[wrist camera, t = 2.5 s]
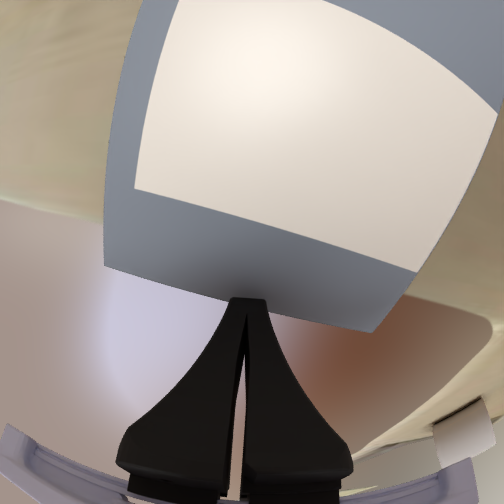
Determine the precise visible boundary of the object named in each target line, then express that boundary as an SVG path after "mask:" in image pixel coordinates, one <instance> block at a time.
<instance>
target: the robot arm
mask: <svg viewBox="0 0 504 504" xmlns="http://www.w3.org/2000/svg"><path fill="white" fill-rule="evenodd" d="M244 354H245V383H246V385H245V386H246V416H245V430H244V446H243V459H242V473H241V487H240V501H233V500H221V499H220V497H227V492H228V490H229V484H230V470H231V456H232V455H231V454H232V442H233V429H234V417H235V406H236V398H237V393H238V387H239V382H240V377H241V371H242V366H243V360H244ZM116 464H117V465H118V466H119V467H121V468H122V469H124V470H126V471H127V472H129V473H130V478H129V481H126V480H123V479H120V478H117V477H114V476H111V475H108V474H105V473H103V472H100V471H97V470H95V469H92V468H89V467H87V466H84V465H82V464H80V463H77V462H75V461H73V460H71V459H68V458H66V457H64V456H62V455H60V454H58V453H56V452H54V451H52V450H50V449H48V448H46V447H44V446H42V445H40V444H39V443H37V442H36V441H35V440H33V439H32V438H31V437H29V436H28V435H26V434H24V433H23V432H21V431H19V430H18V429H16V428H14V427H13V426H12V425H10V424H6V427H5V429H4V432H3V435H2V437H1V441H0V474H2V475H3V476H4V477H6V478H7V479H8V480H9V481H11V482H12V483H13V484H15V485H16V486H17V487H19V488H20V489H21V490H22V491H24V492H25V493H26V494H28V495H29V496H30V497H32V498H33V499H34V500H36V501H37V502H38V503H40V504H135V503H131V502H129V501H128V499H127V497H126V496H125V495H127V496H130V497H133V498H136V499H140V500H144V501H147V502H151V503H155V504H478V502H479V499H478V492H477V486H476V480H475V475H474V470H473V465H472V461H471V457H468V458H466V459H464V460H461V461H459V462H457V463H454V464H452V465H450V466H448V467H445V468H443V469H441V470H440V471H438V472H436V473H434V474H431V475H428V476H425V477H422V478H419V479H416V480H413V481H410V482H406V483H403V484H399V485H396V486H392V487H388V488H384V489H380V490H375V491H371V492H366V493H361V494H355V495H349V496H343V497H339V489H341V479H343V478H345V477H347V476H349V475H350V474H351V473H352V472H353V461H352V457H351V454H350V451H349V448H348V446H347V444H346V443H345V442H344V441H343V439H341V437H340V436H339V435H338V434H337V433H336V432H335V431H334V430H333V429H332V428H331V427H330V426H329V425H328V423H327V422H326V421H325V419H324V418H323V417H322V416H321V414H320V413H319V412H318V410H317V409H316V408H315V406H314V405H313V404H312V402H311V401H310V399H309V398H308V397H307V395H306V394H305V393H304V391H303V389H302V388H301V386H300V384H299V383H298V381H297V379H296V378H295V376H294V374H293V372H292V370H291V369H290V367H289V365H288V363H287V361H286V359H285V356H284V355H283V352H282V350H281V348H280V345H279V343H278V340H277V338H276V335H275V333H274V330H273V327H272V324H271V321H270V317H269V313H268V309H267V302H266V301H265V300H264V299H256V298H241V297H232V298H230V300H229V303H228V306H227V309H226V311H225V313H224V316H223V318H222V320H221V322H220V324H219V326H218V327H217V329H216V331H215V332H214V334H213V336H212V338H211V340H210V341H209V343H208V344H207V346H206V347H205V349H204V350H203V352H202V353H201V355H200V356H199V357H198V359H197V360H196V362H195V363H194V364H193V365H192V367H191V368H190V369H189V371H188V372H187V373H186V374H185V375H184V377H183V378H182V379H181V380H180V381H179V382H178V383H177V385H176V386H175V387H174V388H173V389H172V390H171V391H170V392H169V393H168V394H167V395H166V396H165V397H164V398H163V399H162V400H161V401H160V402H158V403H157V404H156V405H155V406H154V407H153V408H152V409H151V410H150V411H148V412H147V413H146V414H145V415H143V416H142V417H141V418H140V419H138V420H137V421H136V422H135V423H133V424H132V425H131V426H129V427H128V429H127V430H126V432H125V434H124V436H123V438H122V441H121V443H120V445H119V449H118V454H117V457H116Z"/></svg>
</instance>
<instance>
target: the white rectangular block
mask: <svg viewBox="0 0 504 504" xmlns="http://www.w3.org/2000/svg"><path fill="white" fill-rule="evenodd" d="M497 115H498V114H497V113H496V112H495V111H494V110H493V109H492V108H491V107H490V106H489V105H488V104H487V103H486V102H485V101H484V100H483V99H482V98H481V97H480V96H479V95H478V94H477V93H475V92H474V91H473V90H472V89H471V88H470V87H469V86H468V85H466V84H465V83H464V82H463V81H462V80H460V79H459V78H458V77H457V76H455V75H454V74H453V73H452V72H450V71H449V70H448V69H447V68H445V67H444V66H443V65H441V64H440V63H438V62H437V61H436V60H434V59H433V58H432V57H430V56H429V55H427V54H426V53H424V52H423V51H421V50H420V49H418V48H417V47H415V46H414V45H412V44H410V43H409V42H407V41H406V40H404V39H402V38H401V37H399V36H397V35H395V34H394V33H392V32H390V31H388V30H387V29H385V28H383V27H381V26H379V25H377V24H375V23H373V22H371V21H369V20H367V19H365V18H363V17H361V16H359V15H357V14H355V13H353V12H350V11H348V10H346V9H343V8H341V7H339V6H336V5H334V4H331V3H329V2H326V1H323V0H179V2H178V4H177V7H176V10H175V12H174V15H173V18H172V21H171V24H170V27H169V30H168V33H167V36H166V39H165V42H164V45H163V49H162V52H161V55H160V59H159V63H158V66H157V70H156V74H155V78H154V81H153V86H152V90H151V94H150V98H149V103H148V107H147V112H146V117H145V122H144V127H143V133H142V138H141V144H140V150H139V157H138V164H137V171H136V178H135V187H134V189H138V190H142V191H146V192H150V193H154V194H158V195H161V196H165V197H169V198H173V199H177V200H180V201H184V202H188V203H192V204H195V205H199V206H203V207H206V208H210V209H213V210H217V211H221V212H224V213H228V214H231V215H235V216H238V217H242V218H245V219H249V220H252V221H256V222H259V223H263V224H266V225H269V226H273V227H276V228H279V229H283V230H286V231H289V232H293V233H296V234H299V235H303V236H306V237H309V238H312V239H316V240H319V241H322V242H325V243H328V244H332V245H335V246H338V247H341V248H344V249H347V250H350V251H354V252H357V253H360V254H363V255H366V256H369V257H372V258H375V259H378V260H381V261H384V262H387V263H390V264H393V265H396V266H399V267H402V268H405V269H408V270H410V271H413V272H416V273H417V272H418V271H419V269H420V268H421V266H422V265H423V263H424V262H425V260H426V259H427V257H428V256H429V254H430V253H431V251H432V250H433V248H434V246H435V245H436V243H437V242H438V240H439V238H440V237H441V235H442V233H443V232H444V230H445V228H446V227H447V225H448V223H449V221H450V220H451V218H452V216H453V214H454V212H455V211H456V209H457V207H458V205H459V203H460V201H461V199H462V197H463V195H464V193H465V191H466V189H467V187H468V185H469V183H470V181H471V179H472V177H473V175H474V173H475V171H476V168H477V166H478V164H479V162H480V159H481V157H482V155H483V152H484V150H485V148H486V145H487V143H488V140H489V137H490V135H491V132H492V130H493V127H494V124H495V121H496V118H497Z"/></svg>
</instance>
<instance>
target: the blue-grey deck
mask: <svg viewBox="0 0 504 504" xmlns="http://www.w3.org/2000/svg"><path fill="white" fill-rule="evenodd" d="M323 1H326V2H329V3H331V4H334V5H336V6H339V7H341V8H343V9H346V10H348V11H350V12H353V13H355V14H357V15H359V16H361V17H363V18H365V19H367V20H369V21H371V22H373V23H375V24H377V25H379V26H381V27H383V28H385V29H387V30H388V31H390V32H392V33H394V34H395V35H397V36H399V37H401V38H402V39H404V40H406V41H407V42H409V43H410V44H412V45H414V46H415V47H417V48H418V49H420V50H421V51H423V52H424V53H426V54H427V55H429V56H430V57H432V58H433V59H434V60H436V61H437V62H438V63H440V64H441V65H443V66H444V67H445V68H447V69H448V70H449V71H450V72H452V73H453V74H454V75H455V76H457V77H458V78H459V79H460V80H462V81H463V82H464V83H465V84H466V85H468V86H469V87H470V88H471V89H472V90H473V91H474V92H475V93H477V94H478V95H479V96H480V97H481V98H482V99H483V100H484V101H485V102H486V103H487V104H488V105H489V106H490V107H491V108H492V109H493V110H494V111H495V112H496V113H497V114H498V115H499V112H500V108H501V105H502V102H503V99H504V0H323ZM178 2H179V0H143V2H142V5H141V7H140V10H139V13H138V16H137V19H136V22H135V25H134V28H133V31H132V35H131V38H130V41H129V45H128V48H127V52H126V56H125V60H124V64H123V68H122V72H121V76H120V81H119V85H118V90H117V95H116V101H115V106H114V112H113V118H112V124H111V131H110V139H109V147H108V156H107V166H106V178H105V195H104V266H107V267H110V268H113V269H116V270H119V271H122V272H126V273H129V274H132V275H135V276H138V277H141V278H145V279H148V280H151V281H155V282H158V283H161V284H165V285H168V286H172V287H175V288H179V289H182V290H186V291H189V292H193V293H196V294H200V295H204V296H208V297H211V298H215V299H220V300H223V301H227V302H229V300H230V298H232V297H241V298H256V299H264V300H265V301H266V302H267V309H268V312H272V313H276V314H280V315H285V316H290V317H294V318H299V319H303V320H308V321H312V322H318V323H322V324H327V325H332V326H337V327H343V328H347V329H353V330H358V331H364V332H369V333H372V332H373V331H374V330H375V329H376V328H377V326H378V325H379V324H380V323H381V322H382V320H383V319H384V318H385V317H386V315H387V314H388V313H389V312H390V310H391V309H392V308H393V306H394V305H395V304H396V302H397V301H398V300H399V299H400V297H401V296H402V295H403V293H404V292H405V290H406V289H407V288H408V286H409V285H410V284H411V282H412V281H413V279H414V278H415V276H416V275H417V274H418V272H419V271H420V269H421V268H422V266H423V265H424V263H425V262H426V260H427V259H428V257H429V256H430V254H431V253H430V254H429V256H428V257H427V259H426V260H425V262H424V263H423V265H422V266H421V268H420V269H419V271H418V272H417V273H416V272H413V271H410V270H408V269H405V268H402V267H399V266H396V265H393V264H390V263H387V262H384V261H381V260H378V259H375V258H372V257H369V256H366V255H363V254H360V253H357V252H354V251H350V250H347V249H344V248H341V247H338V246H335V245H332V244H328V243H325V242H322V241H319V240H316V239H312V238H309V237H306V236H303V235H299V234H296V233H293V232H289V231H286V230H283V229H279V228H276V227H273V226H269V225H266V224H263V223H259V222H256V221H252V220H249V219H245V218H242V217H238V216H235V215H231V214H228V213H224V212H221V211H217V210H213V209H210V208H206V207H203V206H199V205H195V204H192V203H188V202H184V201H180V200H177V199H173V198H169V197H165V196H161V195H158V194H154V193H150V192H146V191H142V190H138V189H134V187H135V178H136V171H137V164H138V157H139V150H140V144H141V138H142V133H143V127H144V122H145V117H146V112H147V107H148V103H149V98H150V94H151V90H152V86H153V81H154V78H155V74H156V70H157V66H158V63H159V59H160V55H161V52H162V49H163V45H164V42H165V39H166V36H167V33H168V30H169V27H170V24H171V21H172V18H173V15H174V12H175V10H176V7H177V4H178ZM498 115H497V118H498ZM497 118H496V121H497ZM496 121H495V123H496ZM494 126H495V124H494ZM493 129H494V127H493ZM492 132H493V130H492ZM492 132H491V134H492ZM490 137H491V135H490ZM490 137H489V140H490ZM489 140H488V142H489ZM487 145H488V143H487ZM487 145H486V147H487ZM485 150H486V148H485ZM485 150H484V152H485ZM484 152H483V154H484ZM482 157H483V155H482ZM482 157H481V159H482ZM481 159H480V161H481ZM479 164H480V162H479ZM479 164H478V166H479ZM478 166H477V168H478ZM477 168H476V170H477ZM475 172H476V171H475ZM474 175H475V173H474ZM474 175H473V177H474ZM473 177H472V179H473ZM472 179H471V181H472ZM471 181H470V183H471ZM470 183H469V185H470ZM469 185H468V187H469ZM468 187H467V189H468ZM467 189H466V191H467ZM466 191H465V193H466ZM465 193H464V195H465ZM464 195H463V197H464ZM463 197H462V199H463ZM462 199H461V201H462ZM461 201H460V203H461ZM460 203H459V205H460ZM459 205H458V207H459ZM458 207H457V208H458ZM456 210H457V209H456ZM455 212H456V211H455ZM455 212H454V214H455ZM454 214H453V216H454ZM453 216H452V218H453ZM452 218H451V219H452ZM450 221H451V220H450ZM450 221H449V223H450ZM449 223H448V225H449ZM448 225H447V226H448ZM446 228H447V227H446ZM446 228H445V230H446ZM445 230H444V231H445ZM443 233H444V232H443ZM443 233H442V235H443ZM442 235H441V236H442ZM440 238H441V237H440ZM440 238H439V240H440ZM439 240H438V241H439ZM437 243H438V242H437ZM437 243H436V245H437ZM436 245H435V246H436ZM435 246H434V248H435ZM434 248H433V249H434ZM432 251H433V250H432ZM432 251H431V252H432Z"/></svg>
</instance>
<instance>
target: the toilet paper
mask: <svg viewBox="0 0 504 504" xmlns="http://www.w3.org/2000/svg"><path fill="white" fill-rule="evenodd" d="M433 437H434V442H435V447H436V451H437V455H438V458H439V461H440V464H441V467H442V469H443V468H445V467H448V466H450V465H452V464H454V463H457V462H459V461H461V460H464V459H466V458H468V457H471V458H473V457H475V456H476V455H478V454H480V453H482V452H484V451H485V450H487V449H489V448H491V447H492V446H494V445H496V439H495V435H494V430H493V427H492V423H491V420H490V417H489V414H488V411H487V408H486V406H485V403H484V401H483V399H482V398H481V399H480V400H478V401H477V402H475V403H473V404H472V405H470V406H468V407H467V408H465V409H463V410H462V411H460V412H458V413H456V414H454V415H453V416H451V417H449V418H447V419H445V420H443V421H441V422H439V423H437V424H435V425H433Z"/></svg>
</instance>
